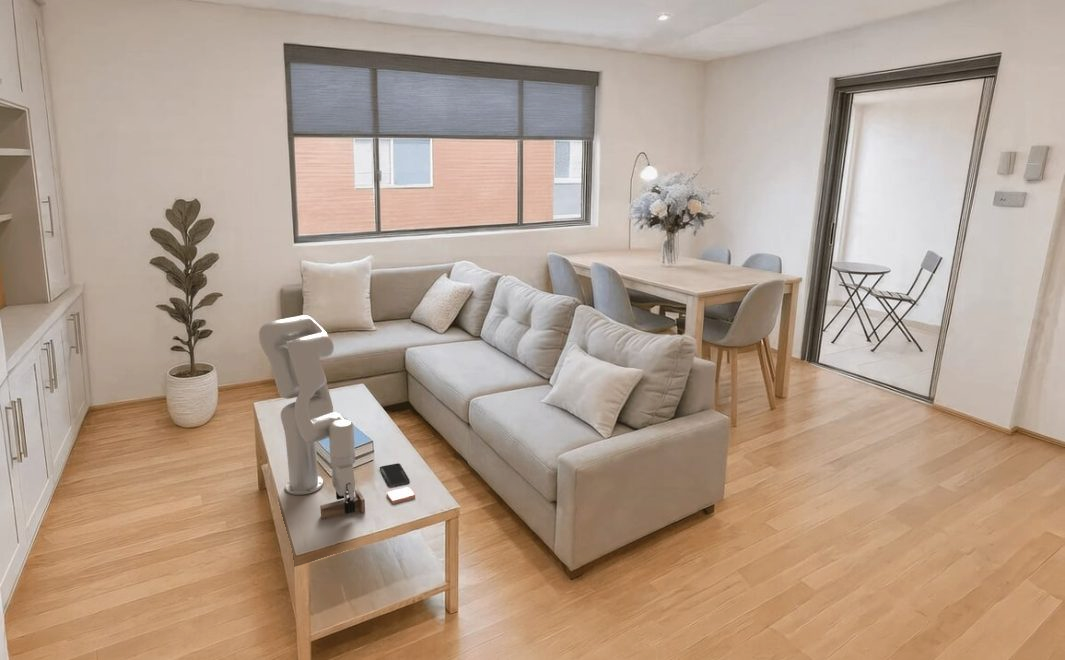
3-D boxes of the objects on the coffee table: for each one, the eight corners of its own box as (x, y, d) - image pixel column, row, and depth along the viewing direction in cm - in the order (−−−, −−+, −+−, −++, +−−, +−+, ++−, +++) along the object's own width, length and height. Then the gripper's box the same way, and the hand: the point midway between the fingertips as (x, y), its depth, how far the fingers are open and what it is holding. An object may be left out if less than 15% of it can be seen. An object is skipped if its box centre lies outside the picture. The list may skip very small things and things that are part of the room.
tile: (386, 492, 215) (408, 486, 219) (386, 497, 215) (408, 491, 219) (392, 500, 210) (415, 494, 214) (392, 505, 210) (415, 499, 215)
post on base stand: (319, 513, 204) (318, 499, 203) (358, 502, 211) (358, 489, 209) (324, 523, 198) (323, 509, 197) (365, 512, 205) (364, 499, 204)
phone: (388, 485, 220) (379, 466, 233) (388, 488, 221) (379, 469, 234) (410, 481, 224) (400, 462, 237) (410, 484, 224) (400, 465, 237)
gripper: (323, 449, 205) (327, 496, 210) (338, 472, 191) (341, 521, 196) (346, 444, 209) (349, 490, 214) (362, 466, 195) (365, 515, 199)
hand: (345, 505), depth 205 cm, fingers open, 9 cm apart
